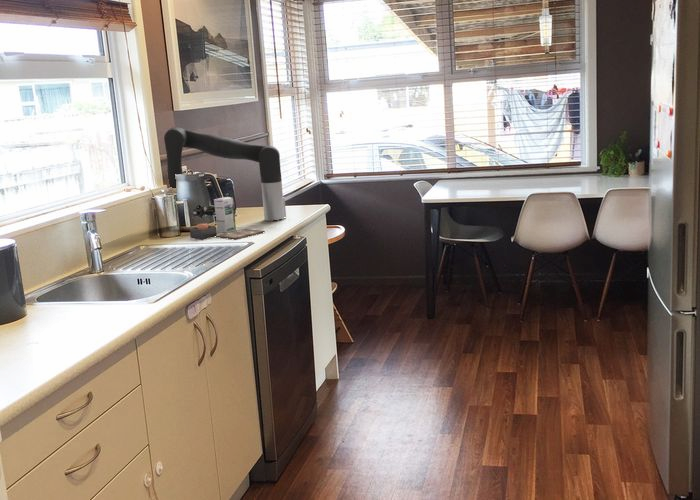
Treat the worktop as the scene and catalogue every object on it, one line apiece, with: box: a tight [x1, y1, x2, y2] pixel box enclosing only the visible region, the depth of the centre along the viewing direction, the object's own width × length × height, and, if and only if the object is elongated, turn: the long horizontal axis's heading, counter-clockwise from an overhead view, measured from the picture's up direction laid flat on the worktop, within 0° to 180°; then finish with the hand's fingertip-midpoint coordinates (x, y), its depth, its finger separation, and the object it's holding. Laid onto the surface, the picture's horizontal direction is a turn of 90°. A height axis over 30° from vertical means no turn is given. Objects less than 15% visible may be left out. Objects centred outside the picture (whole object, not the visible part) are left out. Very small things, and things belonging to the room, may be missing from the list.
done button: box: [196, 222, 209, 229], centre depth 316 cm, size 4×4×3 cm
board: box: [215, 228, 266, 241], centre depth 317 cm, size 16×12×1 cm
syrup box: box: [213, 196, 237, 234], centre depth 326 cm, size 6×6×14 cm
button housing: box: [189, 225, 218, 241], centre depth 317 cm, size 8×8×4 cm
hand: (220, 211), depth 327 cm, fingers open, 8 cm apart
